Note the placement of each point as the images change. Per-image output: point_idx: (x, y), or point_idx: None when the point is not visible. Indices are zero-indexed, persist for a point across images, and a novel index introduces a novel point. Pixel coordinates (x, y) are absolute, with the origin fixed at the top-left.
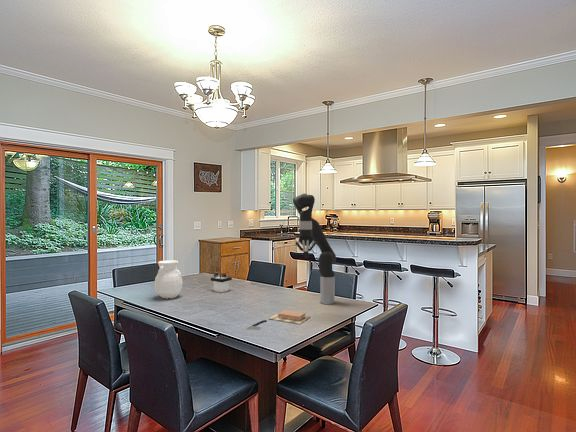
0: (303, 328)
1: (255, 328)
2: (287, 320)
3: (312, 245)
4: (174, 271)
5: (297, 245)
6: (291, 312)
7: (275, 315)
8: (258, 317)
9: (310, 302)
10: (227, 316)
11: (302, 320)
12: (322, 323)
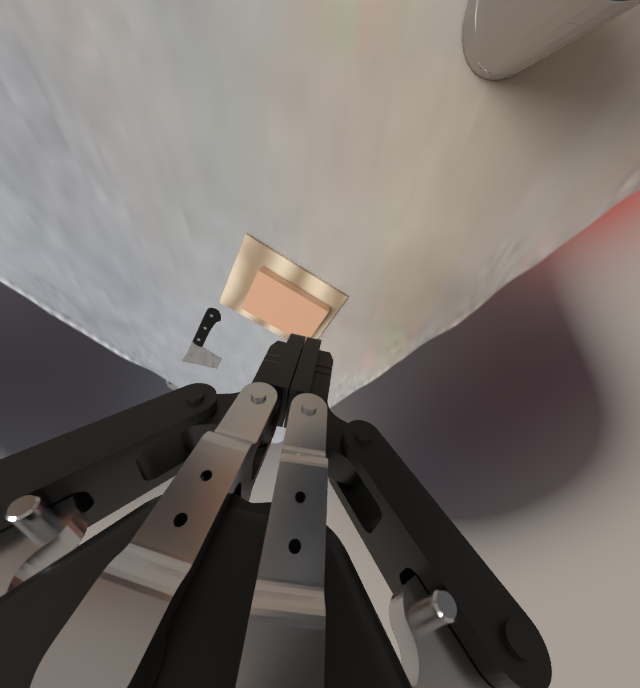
0: None
1: (206, 359)
2: (275, 327)
3: (387, 573)
4: None
5: (82, 497)
6: (282, 303)
7: (234, 277)
8: (186, 279)
9: (401, 3)
10: (90, 259)
11: (318, 332)
12: (371, 349)
